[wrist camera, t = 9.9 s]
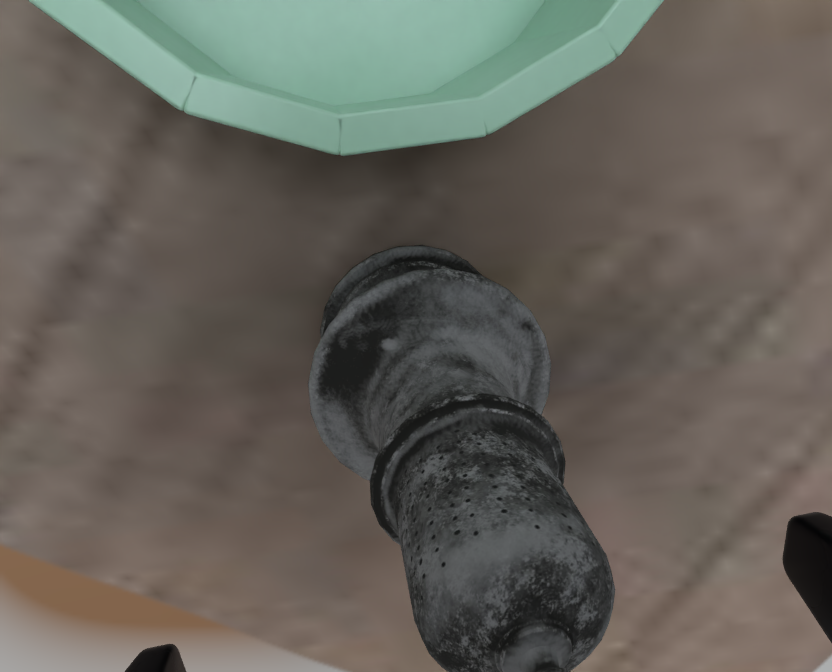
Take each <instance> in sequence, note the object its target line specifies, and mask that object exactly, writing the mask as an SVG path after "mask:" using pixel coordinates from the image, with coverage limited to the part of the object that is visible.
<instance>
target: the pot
mask: <svg viewBox="0 0 832 672" xmlns="http://www.w3.org/2000/svg"><path fill="white" fill-rule="evenodd" d="M663 1H664V0H29V2H31V3H32V4H33V5H35V6H36V7H38V8H39V9H40V10H42V11H43V12H44V13H46V14H47V15H49V16H50V17H51V18H53V19H54V20H55V21H57V22H58V23H60V24H61V25H62V26H64V27H65V28H66V29H68V30H69V31H71V32H72V33H73V34H75V35H76V36H77V37H79V38H80V39H82V40H83V41H84V42H86V43H87V44H88V45H90V46H91V47H93V48H94V49H95V50H97V51H98V52H99V53H101V54H102V55H104V56H105V57H106V58H108V59H109V60H110V61H112V62H113V63H115V64H116V65H117V66H119V67H120V68H121V69H123V70H124V71H126V72H127V73H128V74H130V75H131V76H132V77H134V78H135V79H137V80H138V81H139V82H141V83H142V84H143V85H145V86H146V87H148V88H149V89H150V90H152V91H153V92H154V93H156V94H157V95H159V96H160V97H161V98H163V99H164V100H165V101H167V102H168V103H170V104H171V105H172V106H174V107H175V108H176V109H178V110H181V111H184V112H185V113H187V114H188V115H192V116H195V117H199V118H202V119H206V120H210V121H213V122H217V123H221V124H224V125H228V126H231V127H235V128H239V129H242V130H246V131H250V132H253V133H257V134H260V135H264V136H268V137H271V138H275V139H279V140H282V141H286V142H290V143H293V144H297V145H300V146H304V147H308V148H311V149H315V150H319V151H322V152H326V153H329V154H333V155H339V153H340V155H342V156H347V155H354V154H362V153H369V152H377V151H384V150H392V149H399V148H407V147H414V146H422V145H429V144H436V143H444V142H451V141H459V140H466V139H474V138H481V137H484V136H486V134H487V135H488V134H492V133H494V132H495V131H497V130H499V129H500V128H502V127H504V126H505V125H507V124H509V123H510V122H512V121H514V120H515V119H517V118H519V117H520V116H522V115H524V114H526V113H527V112H529V111H531V110H532V109H534V108H536V107H537V106H539V105H541V104H542V103H544V102H546V101H547V100H549V99H551V98H552V97H554V96H556V95H557V94H559V93H561V92H562V91H564V90H566V89H568V88H569V87H571V86H573V85H574V84H576V83H578V82H579V81H581V80H583V79H584V78H586V77H588V76H589V75H591V74H593V73H594V72H596V71H598V70H599V69H601V68H603V67H605V66H606V65H608V64H610V63H611V62H613V61H614V60H615V58H616V57H618V56H619V55H621V54H622V52H623V51H624V50H625V49H626V47H627V46H628V45H629V43H630V42H631V41H632V40H633V38H634V37H635V36H636V35H637V33H638V32H639V31H640V30H641V28H642V27H643V26H644V25H645V23H646V22H647V21H648V20H649V18H650V17H651V16H652V15H653V13H654V12H655V11H656V10H657V8H658V7H659V6H660V5H661V3H662V2H663Z"/></svg>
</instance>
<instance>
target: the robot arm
mask: <svg viewBox="0 0 832 672" xmlns="http://www.w3.org/2000/svg"><path fill="white" fill-rule="evenodd" d="M783 565H784V569H785V571H786V574H787V576H788V577H789V579H790V580H791V582H792V584H793V585H794V587H795V588H796V590H797V591H798V593H799V594H800V596H801V597H802V599H803V600H804V602H805V603H806V605H807V606H808V608H809V609H810V611H811V612H812V614H813V615H814V617H815V618H816V620H817V621H818V623H819V625H820V626H821V628H822V629H823V631H824V632H825V634H826V635H827V637H828V638H829V640H830V641H831V643H832V517H831V516H828V515H826V514H823V513H819V512H813V513H808V514H803V515H798V516H794V517H792V518H791V519H790V521H789V522H788V525H787V532H786V539H785V545H784V552H783ZM125 672H186V670H185V667H184V664H183V661H182V659H181V656H180V653H179V651H178V649H177V647H176V646H175V645H173V644H166V645H161V646H157V647H152V648H147V649H145V650H143V651H142V652H141V653H139V655H138V656H137V657H136V658H135V659H134V661H133V662H132V663H131V664H130V666H129V667H128V668H127V669H126V671H125Z"/></svg>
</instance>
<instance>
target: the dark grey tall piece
mask: <svg viewBox="0 0 832 672" xmlns="http://www.w3.org/2000/svg"><path fill="white" fill-rule="evenodd" d="M320 333H321V341H320V343H319V345H318V347H317V348H316V350H315V352H314V357H313V362H312V367H311V372H310V377H309V382H308V387H309V397H310V408H311V415H312V417H313V420H314V422H315V424H316V427H317V429H318V432H319V434H320V436H321V439H322V441H323V442H324V443H325V444H326V446H327V447H328V448H329V449H330V450H331V452H332V453H333V454H334V455H335V457H336V458H337V459H338V460H339V461H340V462H341V463H342V464H344V465H345V466H346V467H348V468H349V469H351V470H352V471H354V472H355V473H356V474H358V475H359V476H361V477H362V478H364V479H367V480H369V481H370V492H371V505H372V507H373V510H374V512H375V515H376V517H377V520H378V522H379V525H380V526H381V527H382V528H383V529H384V530H385V532H386V533H387V534H388V535H389V536H390V537H391V539H392V540H393V541H395V542H396V543H398V544H399V545H401V550H402V555H403V561H404V566H405V572H406V577H407V582H408V588H409V593H410V599H411V604H412V610H413V615H414V620H415V623H416V625H417V628H418V630H419V633H420V635H421V638H422V640H423V642H424V644H425V646H426V648H427V650H428V652H429V654H430V655H431V656H432V657H433V658H434V659H435V660H436V661H437V663H438V664H439V665H440V666H441V667H442V668H444V669H445V670H447V671H448V672H570V671H571V670H572V669H574V668H575V667H576V666H577V665H579V664H580V663H581V662H582V661H583V660H585V659H586V658H587V657H588V656H589V655H590V654H591V653H592V651H593V650H594V649H595V648H596V646H597V645H598V644H599V643H600V641H601V640H602V637H603V635H604V633H605V631H606V629H607V626H608V624H609V621H610V617H611V613H612V610H613V603H614V595H615V587H614V582H613V577H612V573H611V569H610V566H609V562H608V559H607V556H606V554H605V552H604V551H603V549H602V547H601V546H600V544H599V542H598V541H597V539H596V538H595V536H594V534H593V533H592V531H591V530H590V528H589V526H588V525H587V523H586V521H585V520H584V518H583V517H582V515H581V513H580V512H579V510H578V509H577V507H576V505H575V504H574V502H573V501H572V499H571V497H570V496H569V494H568V492H567V491H566V489H565V488H564V486H563V483H564V472H565V458H564V454H563V450H562V445H561V441H560V440H559V438H558V436H557V435H556V433H555V432H554V430H553V428H552V427H551V425H550V424H549V422H548V421H547V420H546V419H545V418H544V417H542V416H541V415H542V412H543V409H544V406H545V403H546V400H547V397H548V394H549V388H550V373H551V361H550V357H549V352H548V348H547V343H546V339H545V335H544V334H543V332H542V330H541V328H540V327H539V325H538V323H537V321H536V320H535V318H534V316H533V314H532V312H531V311H530V310H529V309H528V308H527V307H526V306H525V305H524V304H523V303H522V302H521V301H520V300H519V299H518V298H517V297H515V296H514V295H513V294H512V293H511V292H510V291H509V290H508V289H506V288H505V287H503V286H501V285H499V284H497V283H495V282H493V281H491V280H489V279H487V278H485V277H483V276H482V275H481V274H480V273H479V272H478V271H477V270H476V269H475V268H473V267H472V266H471V265H470V264H469V263H468V262H467V261H466V260H464V259H462V258H460V257H458V256H456V255H454V254H452V253H450V252H448V251H446V250H442V249H437V248H432V247H428V246H423V245H419V246H402V247H395V248H392V249H389V250H386V251H383V252H380V253H376V254H373V255H372V256H370V257H369V258H367V259H366V260H364V261H362V262H361V263H359V264H358V265H356V266H355V267H353V268H352V269H351V270H350V271H349V272H348V273H347V274H346V275H345V277H344V278H343V279H342V280H341V281H340V282H339V283H338V284H337V285H336V287H335V289H334V290H333V292H332V294H331V296H330V298H329V300H328V302H327V304H326V306H325V309H324V314H323V319H322V324H321V329H320Z"/></svg>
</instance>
